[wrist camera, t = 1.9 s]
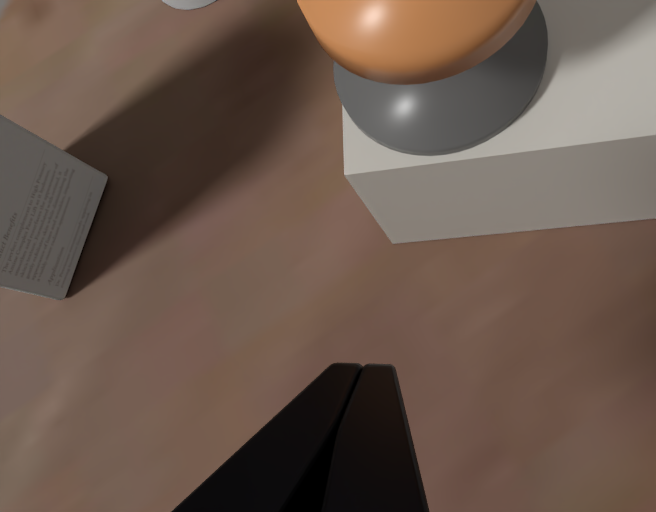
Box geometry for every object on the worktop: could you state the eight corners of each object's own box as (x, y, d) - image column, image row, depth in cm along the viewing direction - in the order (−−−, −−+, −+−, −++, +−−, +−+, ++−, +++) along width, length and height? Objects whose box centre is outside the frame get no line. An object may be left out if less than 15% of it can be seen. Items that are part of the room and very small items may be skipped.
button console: (811, 31, 21) (959, -163, 14) (854, 199, 19) (1045, 76, 12) (383, 100, 24) (331, -23, 18) (389, 244, 23) (335, 170, 16)
